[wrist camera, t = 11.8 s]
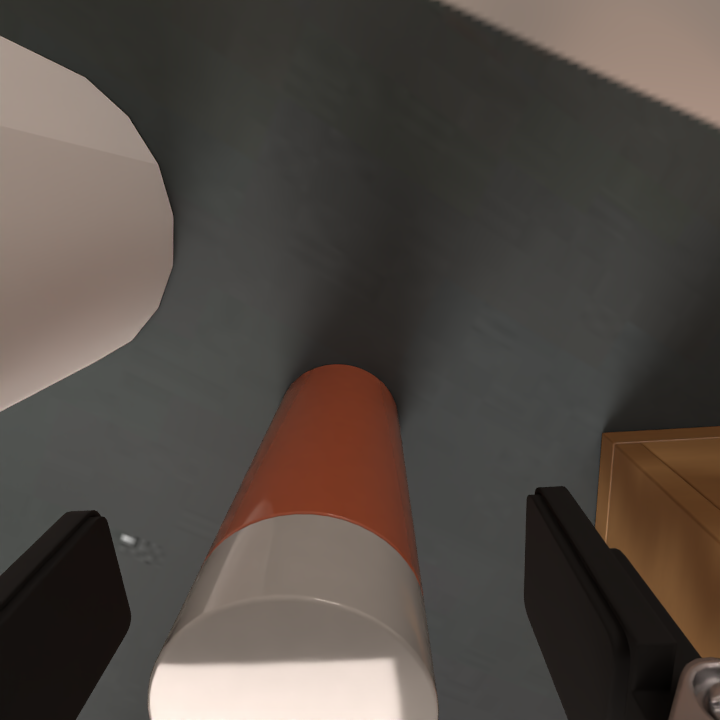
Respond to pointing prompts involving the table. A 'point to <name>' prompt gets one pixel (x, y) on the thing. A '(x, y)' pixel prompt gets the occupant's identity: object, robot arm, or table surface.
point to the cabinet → (668, 520)
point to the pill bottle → (309, 575)
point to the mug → (72, 225)
